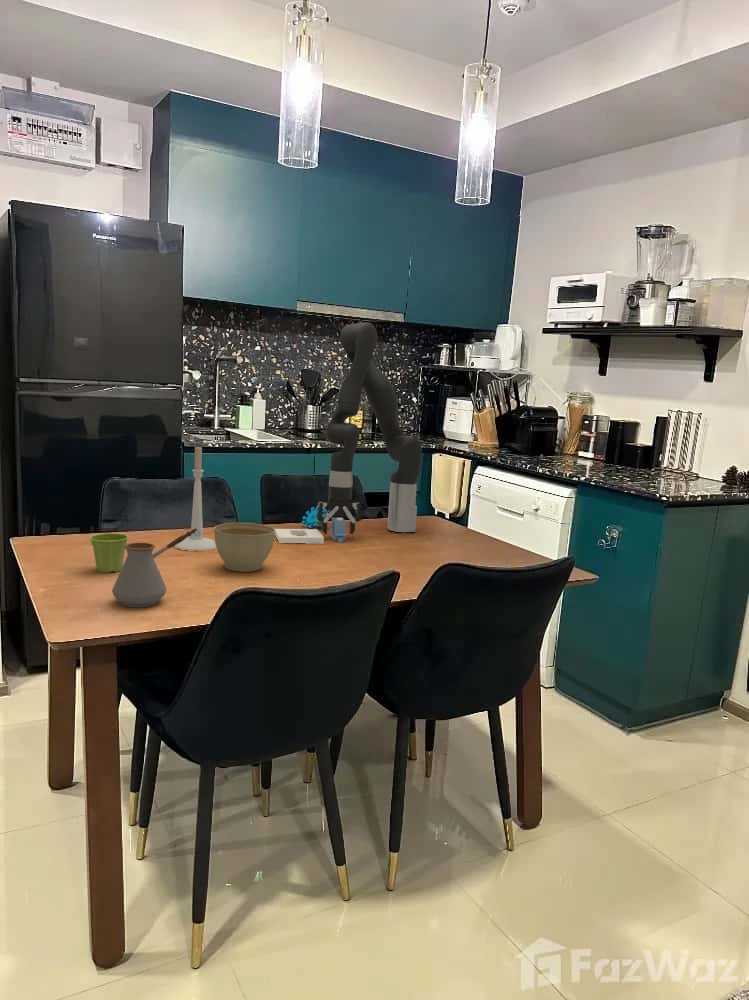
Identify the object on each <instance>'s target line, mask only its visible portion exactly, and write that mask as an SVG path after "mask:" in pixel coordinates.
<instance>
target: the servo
mask: <svg viewBox="0 0 749 1000" xmlns="http://www.w3.org/2000/svg"><path fill="white" fill-rule="evenodd" d="M329 530H330V538H331V537H332V538H331V539H332V540H333V542H338V543H343V542H346V537H347V521H346V519H344V518H343V517H342V516H339V517H338V516H337V517H331V527H330V529H329Z"/></svg>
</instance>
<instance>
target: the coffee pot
mask: <svg viewBox="0 0 749 1000" xmlns="http://www.w3.org/2000/svg"><path fill="white" fill-rule="evenodd" d="M196 531H198V530H197V529H196V528H195V529H193V530H191V529H190V531H187V532H186V533H184V534H182V535H179V536H178V537H177V538H175V539H174V540H173V541H171V542H170V543H168V544H167V545H165V546H164V547H162V548H161V549H159V550H157V551H155V552H154V553H153V550H154V549H155V548H156V546H155V544H153V543H149V542H132V543H126V545H125V551H126V553H127V556H126V557H125V560H124V561H123V566H122V569H121V570H120V571H119V574H118V576H117V577H116V578H117V579H116V580H115V582H114V585H113V588H112V589H111V592H112V595H113V597H114V598H115V600H117V601H118V602H120V603H121V605H123V606H125V607H131V608H144V607H145V608H146V607H151V606H154V605H156V604H157V603H158V601H160V600H162V598H163V597H164V596H165V595H166V592H167V587H166V584H165V581H164V579H163V577H162V574H161V572H160V570H159V568H158V566H157V563H156V561H155V558H156V557H158V556H160V555H161V554H163V553H165V551H168V550H169V549H171V548H173V547H174V546H175V545H177V544H178V543H180V542H182V541H183V540H184V539H186V538H188V537H190V536H191V534H192V533H195V532H196ZM198 532H199V531H198ZM199 534H200V532H199ZM195 535H196V536H198V535H197V534H195ZM199 536H200V535H199Z"/></svg>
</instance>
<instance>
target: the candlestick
mask: <svg viewBox="0 0 749 1000" xmlns="http://www.w3.org/2000/svg"><path fill="white" fill-rule="evenodd" d="M202 453H203V448H202V447H201V446H200V447H199V445H198V446H197V447H194V469H192V470H191V471H192V473H193V474H192V476H193V477H194V482H193V495H192V496H193V497H192V511H191V512H192V513H191V524H190V525H191V526H190V531H191V530H193V529H195V528H196V529H197V530H198V531H199V532H200V534H199V532H198V531H196V532H195V533H192V534H191V536H190V537H189V536H188V537H187V538H186V539H184V540H183V541H182V542H180V543H178V544H177V545H175V547H177V548H180V549H186V550H210V549H215V548H216V544H215V539H214V540H213V539H212V538H208V537H204V533H203V532H204V530H203V527H204V526H203V502H202V501H203V499H202V498H203V497H202V496H203V495H202V494H203V493H202V481H201V479H202V478H203V476H204V474H203V472H205V470H204V469H202V466H203V465H202V463H203V461H202V460H203V458H202V457H203V454H202ZM195 534H197V535H198V536H196V535H195ZM199 535H200V536H199ZM215 550H216V549H215Z"/></svg>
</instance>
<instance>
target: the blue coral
mask: <svg viewBox="0 0 749 1000" xmlns="http://www.w3.org/2000/svg"><path fill="white" fill-rule="evenodd" d="M317 510H318V505H317V506H316V507H315V506H312V507H311V508H310V510H307V511H306V512H305V514H306V515H303V516H302V518H301V519H302V521H301V524H304V525H305V526H308V527H312V528H313V527H314V528H317V527H318V526H319V524H320V525H321V526H322V522H321V521H318V519H317ZM327 512H328V509H327V508H325V509H323V511H322V517H324V516H325V515H326V513H327ZM306 516H307V517H306ZM308 527H307V528H308Z"/></svg>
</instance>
